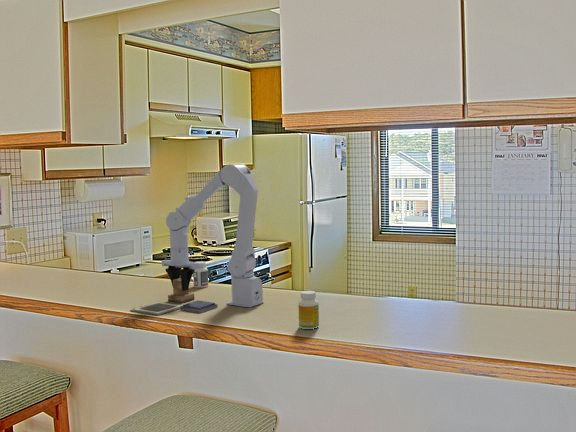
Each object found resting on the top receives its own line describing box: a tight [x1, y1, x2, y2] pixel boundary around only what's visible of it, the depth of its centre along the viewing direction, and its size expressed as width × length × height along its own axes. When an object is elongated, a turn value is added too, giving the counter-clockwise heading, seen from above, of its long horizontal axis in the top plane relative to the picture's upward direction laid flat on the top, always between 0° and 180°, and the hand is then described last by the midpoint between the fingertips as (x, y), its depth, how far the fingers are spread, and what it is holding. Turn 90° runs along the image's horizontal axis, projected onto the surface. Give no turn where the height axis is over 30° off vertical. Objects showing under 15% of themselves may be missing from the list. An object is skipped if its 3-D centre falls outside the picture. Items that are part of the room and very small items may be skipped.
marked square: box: [129, 301, 183, 317], centre depth 196 cm, size 12×12×1 cm
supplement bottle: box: [298, 290, 320, 330], centre depth 171 cm, size 5×5×10 cm
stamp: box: [167, 277, 195, 304], centre depth 207 cm, size 6×6×7 cm
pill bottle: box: [192, 260, 209, 289], centre depth 229 cm, size 5×5×9 cm
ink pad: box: [180, 299, 218, 314], centre depth 195 cm, size 8×8×2 cm
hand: (180, 289), depth 207 cm, fingers closed on stamp, 3 cm apart
